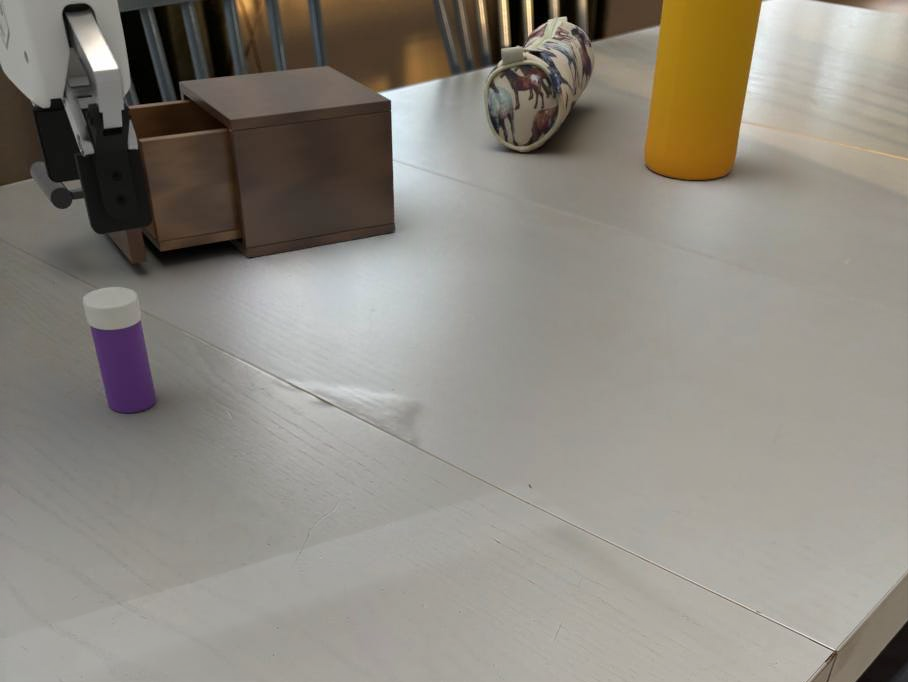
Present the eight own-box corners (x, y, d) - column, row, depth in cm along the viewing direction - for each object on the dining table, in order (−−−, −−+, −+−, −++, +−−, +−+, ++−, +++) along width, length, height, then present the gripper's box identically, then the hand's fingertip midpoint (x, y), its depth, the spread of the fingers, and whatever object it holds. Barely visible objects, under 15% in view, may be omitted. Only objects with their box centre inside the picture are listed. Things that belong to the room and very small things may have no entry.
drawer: (73, 274, 81) (44, 153, 75) (39, 227, 88) (11, 113, 82) (281, 238, 87) (270, 125, 82) (233, 197, 95) (220, 90, 89)
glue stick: (114, 418, 66) (90, 312, 61) (100, 396, 68) (76, 292, 64) (164, 407, 67) (144, 301, 63) (149, 386, 69) (128, 282, 65)
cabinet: (247, 258, 86) (230, 119, 79) (197, 210, 95) (178, 81, 88) (395, 232, 92) (391, 100, 85) (336, 189, 100) (328, 65, 93)
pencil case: (558, 158, 109) (566, 52, 102) (479, 150, 110) (482, 45, 104) (592, 105, 125) (600, 11, 119) (522, 98, 126) (527, 5, 120)
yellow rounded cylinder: (752, 171, 107) (818, -190, 88) (690, 187, 103) (746, -189, 84) (685, 148, 113) (735, -197, 94) (624, 163, 108) (662, -196, 89)
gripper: (-100, -187, 53) (-1, 170, 64) (-37, -165, 41) (69, 264, 53) (52, -189, 56) (121, 153, 67) (150, -169, 44) (213, 238, 55)
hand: (98, 202), depth 60 cm, fingers open, 9 cm apart
